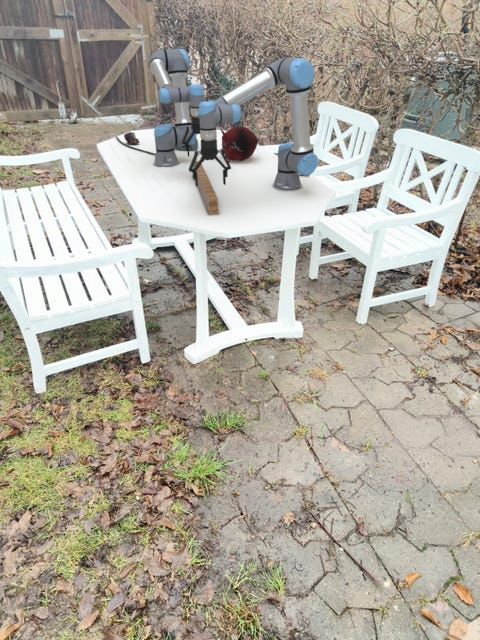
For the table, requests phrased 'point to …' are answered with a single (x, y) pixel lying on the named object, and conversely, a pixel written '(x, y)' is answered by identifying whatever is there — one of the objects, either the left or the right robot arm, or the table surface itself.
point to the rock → (131, 138)
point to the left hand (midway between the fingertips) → (200, 155)
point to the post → (207, 190)
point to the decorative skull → (238, 143)
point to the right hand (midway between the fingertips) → (210, 185)
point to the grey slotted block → (191, 147)
